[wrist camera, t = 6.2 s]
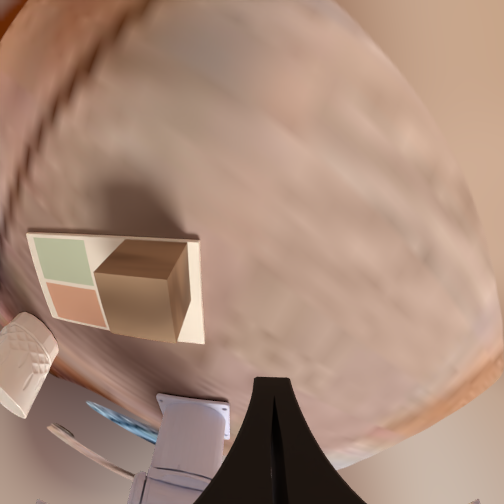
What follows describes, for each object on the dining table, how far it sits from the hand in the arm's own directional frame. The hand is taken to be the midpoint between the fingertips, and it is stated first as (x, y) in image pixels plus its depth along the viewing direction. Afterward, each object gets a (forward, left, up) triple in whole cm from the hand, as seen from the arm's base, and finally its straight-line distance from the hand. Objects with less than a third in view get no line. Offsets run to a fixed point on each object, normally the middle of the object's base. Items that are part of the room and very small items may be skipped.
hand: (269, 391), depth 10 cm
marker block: (0, +8, -9) cm, 12 cm away
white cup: (-11, +26, -10) cm, 29 cm away
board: (-2, +13, -9) cm, 16 cm away
